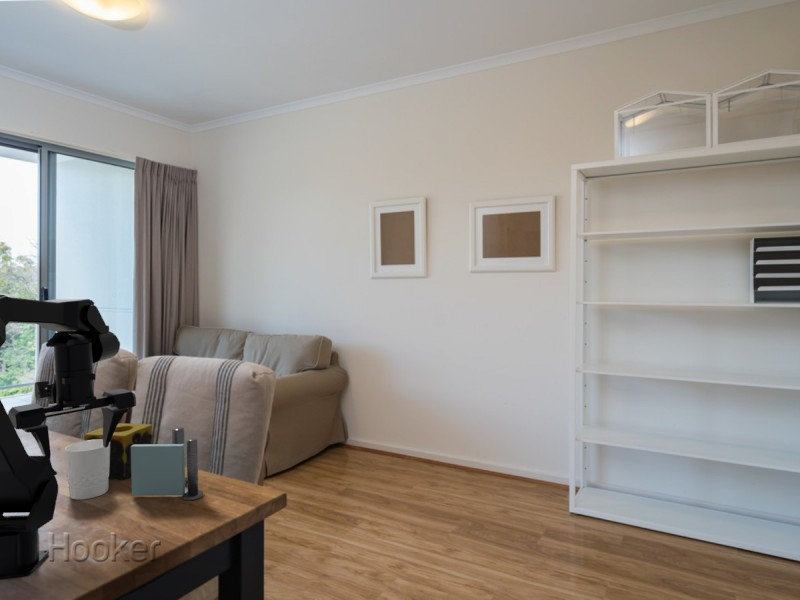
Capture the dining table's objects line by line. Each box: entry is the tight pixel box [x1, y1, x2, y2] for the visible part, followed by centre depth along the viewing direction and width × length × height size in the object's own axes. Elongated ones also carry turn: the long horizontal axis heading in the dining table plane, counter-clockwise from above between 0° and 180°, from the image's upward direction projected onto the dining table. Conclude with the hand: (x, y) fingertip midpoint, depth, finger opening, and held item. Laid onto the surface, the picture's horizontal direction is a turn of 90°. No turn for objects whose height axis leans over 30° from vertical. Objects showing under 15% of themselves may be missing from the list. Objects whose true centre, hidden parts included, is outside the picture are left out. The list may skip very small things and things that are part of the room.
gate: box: [130, 443, 186, 497], centre depth 101 cm, size 10×1×10 cm, turn 90°
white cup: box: [64, 439, 110, 501], centre depth 103 cm, size 8×8×10 cm
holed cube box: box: [83, 422, 153, 481], centre depth 115 cm, size 10×10×10 cm
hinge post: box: [181, 438, 204, 502], centre depth 101 cm, size 4×4×12 cm
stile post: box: [171, 426, 187, 483], centre depth 109 cm, size 3×3×12 cm
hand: (77, 453), depth 91 cm, fingers open, 9 cm apart
